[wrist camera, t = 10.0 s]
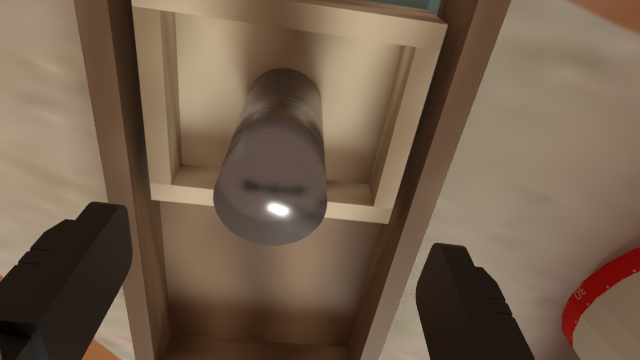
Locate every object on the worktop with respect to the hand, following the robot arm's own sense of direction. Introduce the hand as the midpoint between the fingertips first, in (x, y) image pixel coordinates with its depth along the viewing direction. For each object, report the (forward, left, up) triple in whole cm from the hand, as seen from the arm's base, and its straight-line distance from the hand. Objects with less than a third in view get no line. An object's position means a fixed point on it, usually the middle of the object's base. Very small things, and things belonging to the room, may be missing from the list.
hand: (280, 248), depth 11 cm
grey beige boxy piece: (0, 0, -11) cm, 11 cm away
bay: (0, +8, -13) cm, 15 cm away
